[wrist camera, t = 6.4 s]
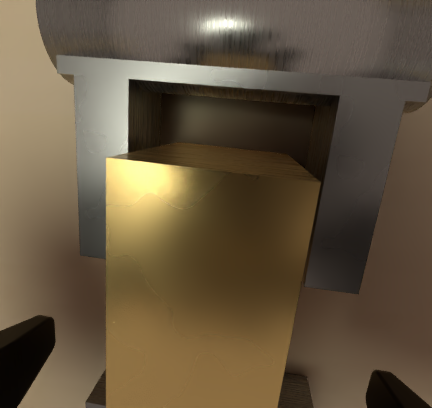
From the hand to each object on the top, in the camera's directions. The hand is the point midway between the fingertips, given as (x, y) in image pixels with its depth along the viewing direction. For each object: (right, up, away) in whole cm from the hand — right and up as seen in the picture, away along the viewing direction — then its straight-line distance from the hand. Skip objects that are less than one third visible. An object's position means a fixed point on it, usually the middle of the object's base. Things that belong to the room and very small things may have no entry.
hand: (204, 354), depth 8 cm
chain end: (+1, +6, +1) cm, 6 cm away
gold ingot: (0, +1, +3) cm, 3 cm away
